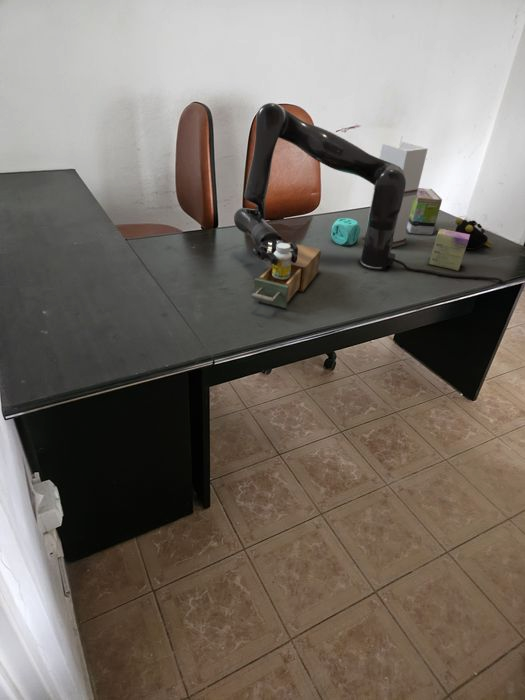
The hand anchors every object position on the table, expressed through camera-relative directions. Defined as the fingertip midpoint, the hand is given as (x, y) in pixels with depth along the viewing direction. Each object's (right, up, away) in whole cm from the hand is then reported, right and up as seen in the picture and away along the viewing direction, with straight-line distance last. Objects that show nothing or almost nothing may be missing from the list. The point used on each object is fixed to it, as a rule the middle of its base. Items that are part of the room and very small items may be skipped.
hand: (285, 260), depth 136 cm
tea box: (+58, +26, +64) cm, 90 cm away
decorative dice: (+25, +16, +47) cm, 56 cm away
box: (+59, +5, +34) cm, 68 cm away
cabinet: (+4, -2, +19) cm, 20 cm away
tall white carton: (+41, +17, +50) cm, 67 cm away
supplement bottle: (-1, -4, +6) cm, 7 cm away
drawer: (-3, -10, +6) cm, 12 cm away
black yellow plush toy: (+74, +14, +49) cm, 90 cm away
